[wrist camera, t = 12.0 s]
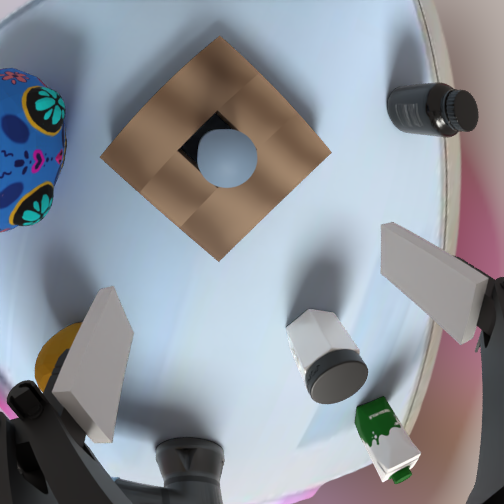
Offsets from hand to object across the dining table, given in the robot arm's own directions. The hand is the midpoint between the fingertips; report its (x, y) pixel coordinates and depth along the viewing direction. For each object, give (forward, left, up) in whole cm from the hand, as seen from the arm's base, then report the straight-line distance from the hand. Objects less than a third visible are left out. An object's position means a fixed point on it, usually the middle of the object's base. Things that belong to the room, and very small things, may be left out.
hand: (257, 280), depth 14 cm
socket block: (+3, +4, -23) cm, 24 cm away
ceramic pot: (-12, +23, -24) cm, 35 cm away
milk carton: (-12, -57, -24) cm, 63 cm away
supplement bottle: (+26, -9, -24) cm, 36 cm away
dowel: (+3, +4, -23) cm, 24 cm away
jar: (-6, -25, -24) cm, 35 cm away
